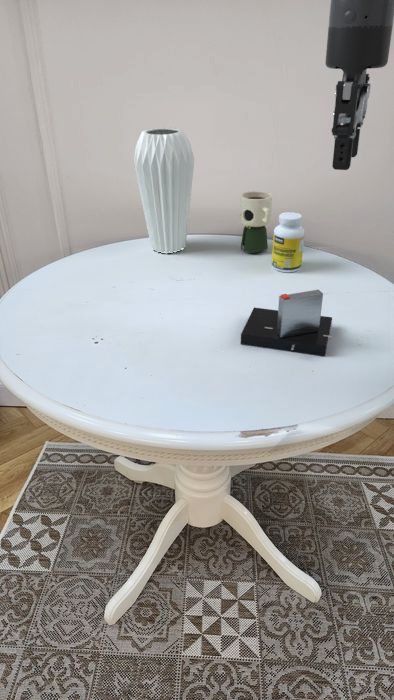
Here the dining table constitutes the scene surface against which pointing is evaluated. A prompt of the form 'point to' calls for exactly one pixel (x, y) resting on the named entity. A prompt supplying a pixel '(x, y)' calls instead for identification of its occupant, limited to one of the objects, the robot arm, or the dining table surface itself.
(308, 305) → the grey battery block
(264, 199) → the character mug
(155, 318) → the dining table surface
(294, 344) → the black base plate
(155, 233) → the vase
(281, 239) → the pill bottle
